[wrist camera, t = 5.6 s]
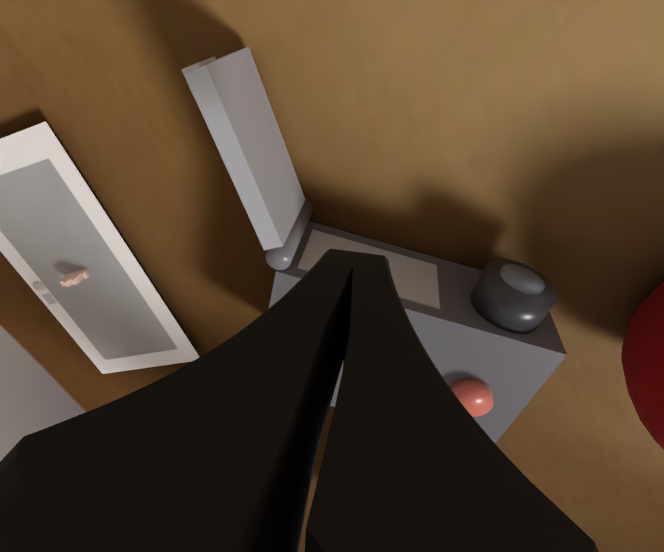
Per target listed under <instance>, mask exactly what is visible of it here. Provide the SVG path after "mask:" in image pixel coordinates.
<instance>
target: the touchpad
mask: <svg viewBox="0 0 664 552" xmlns="http://www.w3.org/2000/svg"><path fill="white" fill-rule="evenodd" d="M0 251H1V252H2V254H3V255H4V256H5V257H6V258H7V260H8V261H9V262H10V263H11V264H12V266H13V267H14V268H15V269H16V270H17V272H18V273H19V274H20V275H21V277H22V278H23V279H24V280H25V281H26V283H27V284H28V285H29V286H30V287H31V289H32V290H33V291H34V292H35V293H36V295H37V296H38V297H39V298H40V299H41V301H42V302H43V303H44V304H45V305H46V307H47V308H48V309H49V310H50V311H51V313H52V314H53V315H54V316H55V317H56V319H57V320H58V321H59V322H60V323H61V325H62V326H63V327H64V328H65V329H66V331H67V332H68V333H69V334H70V335H71V337H72V338H73V339H74V340H75V341H76V343H77V344H78V345H79V346H80V347H81V349H82V350H83V351H84V352H85V353H86V355H87V356H88V357H89V358H90V359H91V361H92V362H93V363H94V364H95V365H96V367H97V368H98V369H99V370H100V371H101V373H102V374H106V373H114V372H121V371H128V370H135V369H142V368H149V367H156V366H163V365H170V364H177V363H184V362H191V361H194V360H196V359H198V358H199V355H198V354H197V352H196V351H195V349H194V347H193V346H192V344H191V343H190V341H189V340H188V338H187V337H186V335H185V334H184V332H183V331H182V329H181V328H180V326H179V324H178V323H177V321H176V320H175V318H174V317H173V315H172V314H171V312H170V311H169V309H168V308H167V306H166V305H165V303H164V301H163V300H162V298H161V297H160V295H159V294H158V292H157V291H156V289H155V288H154V286H153V285H152V283H151V282H150V280H149V279H148V277H147V275H146V274H145V272H144V271H143V269H142V268H141V266H140V265H139V263H138V262H137V260H136V259H135V257H134V256H133V254H132V252H131V251H130V249H129V248H128V246H127V245H126V243H125V242H124V240H123V239H122V237H121V236H120V234H119V233H118V231H117V229H116V228H115V226H114V225H113V223H112V222H111V220H110V219H109V217H108V216H107V214H106V213H105V211H104V210H103V208H102V206H101V205H100V203H99V202H98V200H97V199H96V197H95V196H94V194H93V193H92V191H91V190H90V188H89V187H88V185H87V184H86V182H85V180H84V179H83V177H82V176H81V174H80V173H79V171H78V170H77V168H76V167H75V165H74V164H73V162H72V161H71V159H70V157H69V156H68V154H67V153H66V151H65V150H64V148H63V147H62V145H61V144H60V142H59V141H58V139H57V138H56V136H55V134H54V133H53V131H52V130H51V128H50V127H49V125H48V124H47V122H46V121H45V122H42V123H40V124H37V125H35V126H32V127H29V128H27V129H24V130H22V131H19V132H16V133H14V134H11V135H9V136H6V137H3V138H1V139H0Z"/></svg>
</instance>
